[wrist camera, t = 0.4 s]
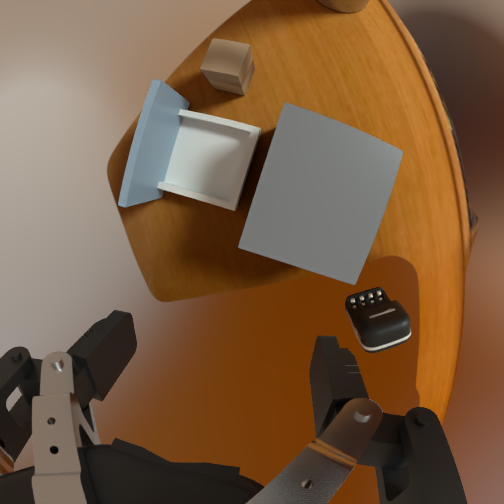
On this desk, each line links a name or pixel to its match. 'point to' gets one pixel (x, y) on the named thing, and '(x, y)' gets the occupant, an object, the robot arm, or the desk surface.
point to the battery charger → (377, 320)
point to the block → (228, 66)
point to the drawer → (186, 153)
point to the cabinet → (320, 195)
